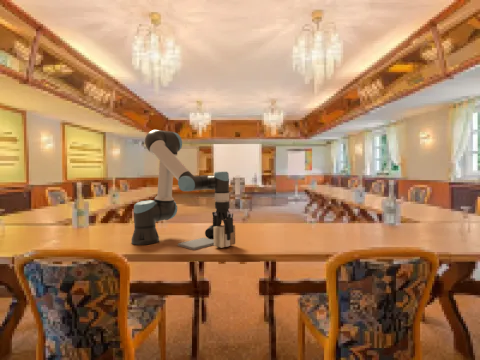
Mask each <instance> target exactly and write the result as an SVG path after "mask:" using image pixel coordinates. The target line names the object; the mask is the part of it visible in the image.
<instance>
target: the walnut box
mask: <svg viewBox="0 0 480 360" xmlns="http://www.w3.org/2000/svg"><path fill="white" fill-rule="evenodd" d="M233 230H234V232H233V233H231V239H230V246H232V245H236V225H235V224H233ZM213 233H214V239H213V240H214V245H213V246H214V247H217V248H226V247H225V233H226V230H225V226H224V224H221V225H220V226H215V227H213Z"/></svg>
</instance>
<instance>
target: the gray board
mask: <svg viewBox="0 0 480 360" xmlns="http://www.w3.org/2000/svg"><path fill="white" fill-rule="evenodd" d="M177 246H178V247H182V248H186V249H188V250H193V251H196V250H200V249H203V248H207V247H211V246H214V239H209V238H207V237H199V238H195V239H190V240H188V241H187V240H186V241H183V242H178V243H177Z"/></svg>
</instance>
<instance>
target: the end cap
mask: <svg viewBox="0 0 480 360" xmlns="http://www.w3.org/2000/svg"><path fill="white" fill-rule="evenodd" d="M204 235H205V238H208V239H212V240H214V233H213V224H212V225H209V226H208V228H207V229H205V231H204Z"/></svg>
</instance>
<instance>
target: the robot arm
mask: <svg viewBox="0 0 480 360" xmlns="http://www.w3.org/2000/svg"><path fill="white" fill-rule="evenodd" d="M144 144H145V148H146V149H147V150H148V152H149V153H150V154H151V155H154V156H155V157H156V158H157V159H158V160H159V164H158V166H159V167H158V179H157V180H158V182H157V193H156V194H157V195H156V196H155V197H154V198H153V199H154V200H151V199H149V200H141V201H138V202H136V203H134V205H133V220H134V221H133V223H134V224H133V225H134V226H133V227H134V230H133V233H132V236H131V244H132V245H137V246H142V245H143V246H144V245H151V244H152V245H153V244H156V243H158V242H159V241H160V236H159V233H158V231H157V228H156V223H157V222H162V221H168V220H171V219H173V218H174V217H176V216H177V212H178V205H177V203H176V201H175V198H174V197H173V185H174V184H173V183H174V178H175V179H176V180H177V186H178V189H179V190H180V191H182V192H193V191H195V192H196V191H203V190H204V191H206V190H207V191H208V190H211V191H212V190H214V201H215V202H214V209H216V210H215V211H212V225H213V227H215V226H220V225H222V221H223V225H224V226H225V230H226V233H225V247H224V248H227V247H230V246H231V245H230V239H231V233H233V232H234V230H233V225H234V213H233V212H232V213H230V211H229V209H230V177H229V172H228V171H215V172H214V174H213V175H194V174H193V173H191V171H190V170H189V169H188V168H187V167H186V166H185V165H184V164H183V163H182V162H181V161H180V159H178V158H177V157H176V156H178V152H180V151H181V149H182V147H183V141H182V137H181V136H180V134H178V133H177V132H174V131H168V130H159V129H153V130H151V131H149V132H148V133H147V134H146V136H145V139H144Z"/></svg>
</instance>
